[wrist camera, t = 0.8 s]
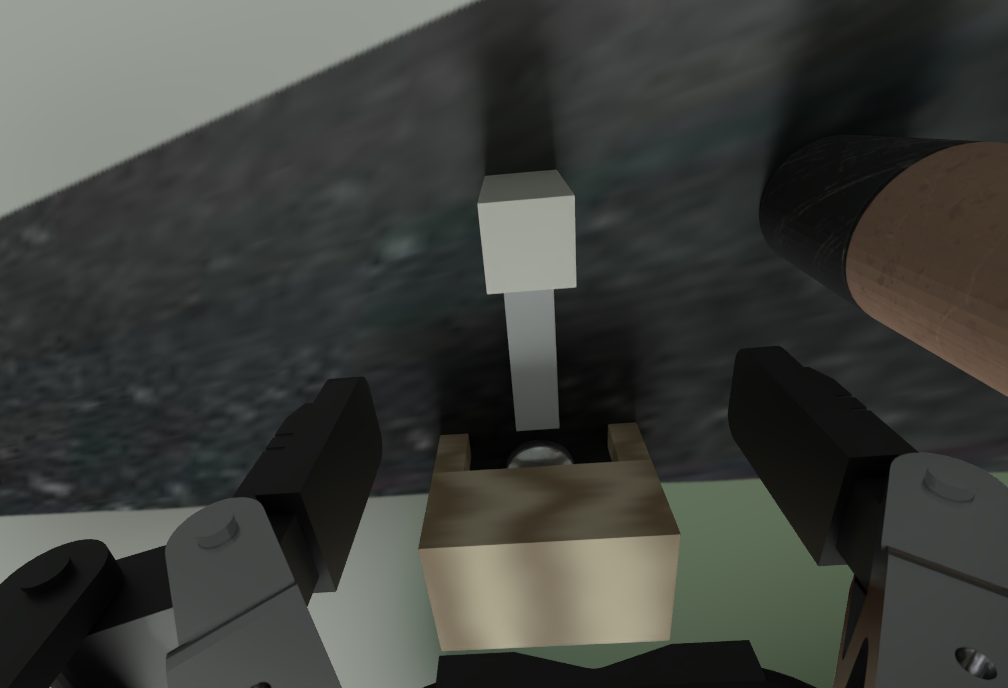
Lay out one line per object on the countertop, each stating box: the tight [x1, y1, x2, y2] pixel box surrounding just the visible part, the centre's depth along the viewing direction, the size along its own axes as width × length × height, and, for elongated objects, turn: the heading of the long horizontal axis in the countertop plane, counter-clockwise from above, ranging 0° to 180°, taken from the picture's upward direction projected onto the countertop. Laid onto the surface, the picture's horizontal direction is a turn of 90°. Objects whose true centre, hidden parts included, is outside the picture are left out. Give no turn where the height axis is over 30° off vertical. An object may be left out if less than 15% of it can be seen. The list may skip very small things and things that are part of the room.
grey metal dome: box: [507, 440, 574, 468], centre depth 36 cm, size 5×5×2 cm
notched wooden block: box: [418, 422, 681, 651], centre depth 33 cm, size 14×9×10 cm, turn 95°
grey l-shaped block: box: [477, 170, 576, 431], centre depth 28 cm, size 17×4×8 cm, turn 5°
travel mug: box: [760, 135, 1008, 396], centre depth 19 cm, size 8×8×20 cm
